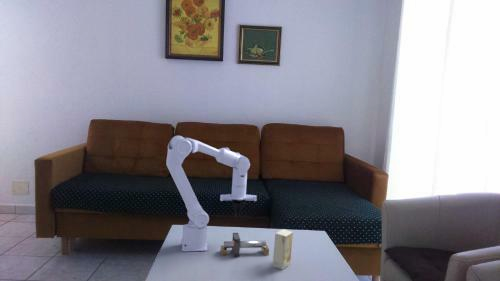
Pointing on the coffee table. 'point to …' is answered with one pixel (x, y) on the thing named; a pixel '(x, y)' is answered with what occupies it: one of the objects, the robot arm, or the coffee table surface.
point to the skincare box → (282, 249)
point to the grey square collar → (236, 245)
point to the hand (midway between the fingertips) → (237, 217)
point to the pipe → (245, 246)
